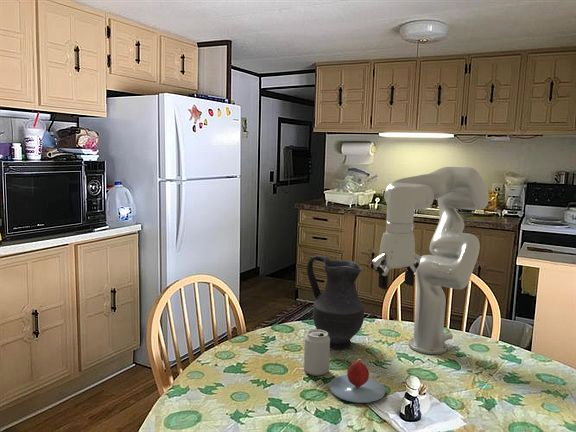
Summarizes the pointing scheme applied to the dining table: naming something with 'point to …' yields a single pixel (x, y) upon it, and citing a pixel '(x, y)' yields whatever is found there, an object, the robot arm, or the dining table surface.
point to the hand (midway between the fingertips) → (396, 286)
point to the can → (316, 352)
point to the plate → (357, 390)
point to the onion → (358, 373)
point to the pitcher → (337, 301)
